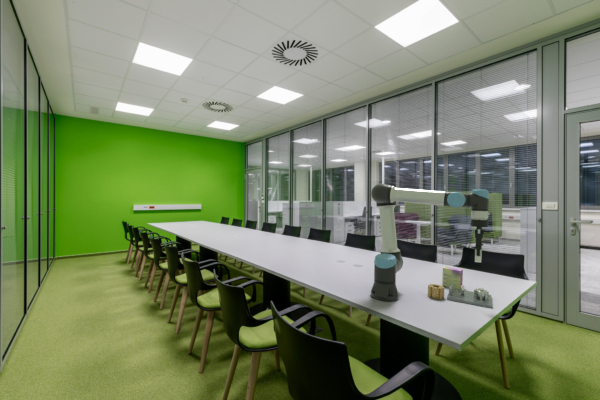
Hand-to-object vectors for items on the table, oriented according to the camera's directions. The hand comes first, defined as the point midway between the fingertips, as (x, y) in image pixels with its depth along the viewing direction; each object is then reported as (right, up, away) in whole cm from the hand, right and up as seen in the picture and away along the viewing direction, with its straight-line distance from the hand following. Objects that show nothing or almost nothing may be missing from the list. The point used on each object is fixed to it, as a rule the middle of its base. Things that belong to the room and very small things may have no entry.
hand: (478, 260), depth 142 cm
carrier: (+3, -25, +13) cm, 28 cm away
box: (+5, -25, +33) cm, 42 cm away
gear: (-15, -24, +14) cm, 32 cm away
